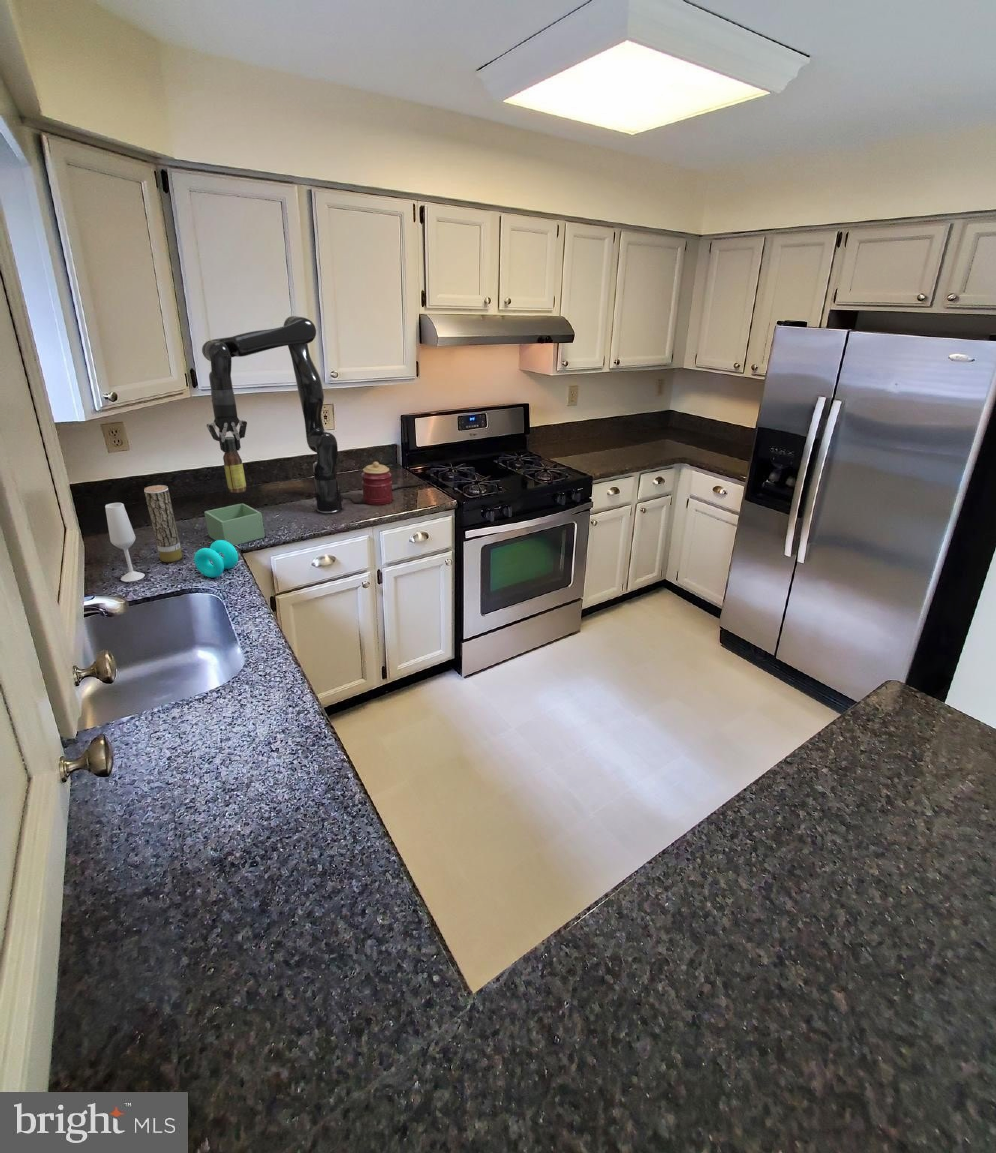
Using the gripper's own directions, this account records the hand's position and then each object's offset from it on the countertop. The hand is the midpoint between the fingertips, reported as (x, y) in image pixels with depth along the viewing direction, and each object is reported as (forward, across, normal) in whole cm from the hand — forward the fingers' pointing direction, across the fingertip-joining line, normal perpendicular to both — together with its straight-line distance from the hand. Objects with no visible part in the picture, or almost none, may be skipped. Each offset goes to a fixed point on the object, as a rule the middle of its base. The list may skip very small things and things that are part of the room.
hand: (231, 450), depth 215 cm
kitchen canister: (+30, +59, -4) cm, 67 cm away
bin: (+31, -4, -5) cm, 31 cm away
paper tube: (+31, -30, -10) cm, 44 cm away
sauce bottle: (+15, 0, 0) cm, 15 cm away
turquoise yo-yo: (+31, -22, -31) cm, 49 cm away
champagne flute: (+31, -43, -16) cm, 56 cm away
